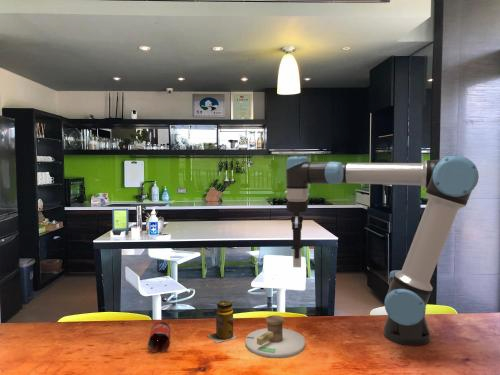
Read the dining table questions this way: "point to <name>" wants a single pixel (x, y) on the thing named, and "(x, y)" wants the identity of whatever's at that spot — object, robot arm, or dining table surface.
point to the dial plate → (276, 344)
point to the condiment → (223, 323)
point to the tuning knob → (272, 330)
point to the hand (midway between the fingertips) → (297, 266)
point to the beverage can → (159, 336)
